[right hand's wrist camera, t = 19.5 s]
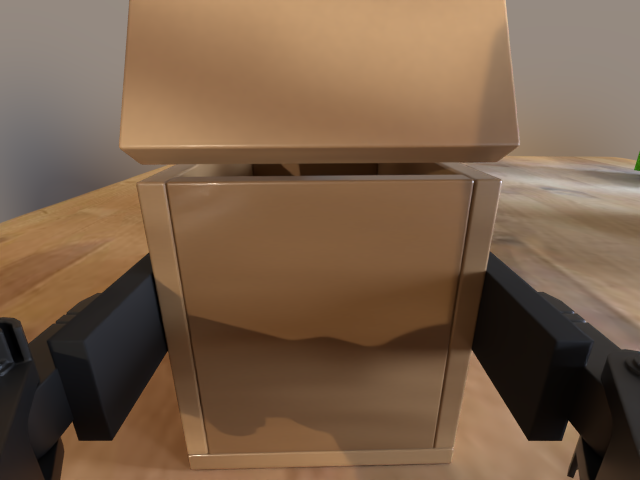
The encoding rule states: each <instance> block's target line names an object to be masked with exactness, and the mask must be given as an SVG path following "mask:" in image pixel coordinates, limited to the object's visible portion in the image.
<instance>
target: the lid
mask: <svg viewBox="0 0 640 480" xmlns="http://www.w3.org/2000/svg"><path fill="white" fill-rule="evenodd" d="M519 145H520V138H519V129H518V119H517V109H516V99H515V89H514V80H513V70H512V60H511V50H510V41H509V31H508V21H507V11H506V2H505V0H129V14H128V27H127V41H126V55H125V69H124V83H123V97H122V111H121V125H120V139H119V147H120V149H121V150H122V151H124V152H125V153H126V154H128V155H129V156H130V157H132V158H133V159H134V160H136V161H137V162H138V163H140V164H142V165H155V164H300V163H444V162H498V161H499V160H501V159H502V158H503V157H505V156H506V155H508V154H509V153H510V152H512V151H513V150H514V149H516V148H517V147H519Z"/></svg>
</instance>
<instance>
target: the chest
mask: <svg viewBox="0 0 640 480" xmlns="http://www.w3.org/2000/svg"><path fill="white" fill-rule="evenodd" d="M501 187H502V180H501V179H499V178H496V177H494V176H491V175H489V174H486V173H484V172H481V171H479V170H476V169H474V168H471V167H469V166H466V165H464V164H461V163H459V162H444V163H300V164H176V165H174V166H172V167H170V168H168V169H166V170H163V171H161V172H159V173H157V174H155V175H153V176H150V177H148V178H146V179H144V180H142V181H139V182H137V191H138V196H139V201H140V206H141V212H142V217H143V222H144V227H145V233H146V238H147V243H148V248H149V254H150V259H151V264H152V269H153V275H154V280H155V285H156V290H157V296H158V301H159V306H160V311H161V316H162V322H163V327H164V332H165V337H166V343H167V348H168V353H169V358H170V364H171V369H172V374H173V379H174V385H175V390H176V395H177V400H178V406H179V411H180V416H181V421H182V427H183V432H184V437H185V442H186V447H187V453H188V459H189V464H190V469H191V470H201V469H241V468H280V467H320V466H359V465H399V464H438V463H451V462H452V456H453V451H454V448H453V447H454V444H455V438H456V433H457V427H458V422H459V416H460V411H461V405H462V400H463V394H464V389H465V383H466V378H467V373H468V367H469V362H470V356H471V351H472V344H473V339H474V333H475V328H476V323H477V317H478V312H479V306H480V301H481V296H482V290H483V285H484V279H485V274H486V269H487V263H488V258H489V252H490V247H491V241H492V236H493V230H494V225H495V219H496V214H497V208H498V203H499V198H500V192H501Z"/></svg>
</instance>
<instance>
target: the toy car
mask: <svg viewBox="0 0 640 480" xmlns="http://www.w3.org/2000/svg"><path fill="white" fill-rule="evenodd" d="M634 170H637V171H640V153H639V156H638V159H637V162H636V165H635V169H634Z"/></svg>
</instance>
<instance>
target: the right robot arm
mask: <svg viewBox="0 0 640 480" xmlns="http://www.w3.org/2000/svg"><path fill="white" fill-rule="evenodd" d="M167 351H168V348H167V343H166V337H165V332H164V327H163V322H162V316H161V311H160V306H159V301H158V296H157V290H156V285H155V280H154V275H153V269H152V264H151V259H150V254H149V253H148V254H147V255H146V256H144V257H143V258H142V259H141V260H140V261H139V262H137V263H136V264H135V265H134V266H133V267H132V268H131V269H129V270H128V271H127V272H126V273H125V274H124V275H122V276H121V277H120V278H119V279H118V280H117V281H115V282H114V283H113V284H112V285H111V286H110V287H108V288H107V289H106V290H105V291H104V292H103V293H97V294H95V295H93V296H91V297H89V298H87V299H85V300H83V301H81V302H79V303H78V304H77V305H75V306H74V307H73V308H72V309H71V310H69V311H68V312H67V314H66V315H63V316H62V317H61V318H60V319H58V320H57V321H56V324H52V325H51V326H50V327H49V328H47V329H46V330H45V331H44V332H42V333H41V334H40V335H39V336H38V337H36V338H35V339H34V340H33V341H31V342H30V343H29V344H28V342H27V339H26V336H25V333H24V331H23V328H22V325H21V322H20V321H19V320H17V319H15V318H5V317H2V318H0V480H60V477H61V470H62V464H63V457H64V447H63V443H62V440H61V435H62V434H63V433H64V432H65V430H66V429H67V428H68V426H69V425H70V424H71V423H72V421H73V424H74V428H75V431H76V434H77V437H78V440H79V441H112V440H113V438H114V437H115V435H116V433H117V432H118V430H119V429H120V427H121V425H122V424H123V422H124V420H125V419H126V417H127V416H128V414H129V412H130V411H131V409H132V408H133V406H134V404H135V403H136V401H137V399H138V398H139V396H140V395H141V393H142V391H143V390H144V388H145V387H146V385H147V383H148V382H149V380H150V379H151V377H152V375H153V374H154V372H155V370H156V369H157V367H158V366H159V364H160V362H161V361H162V359H163V358H164V356H165V354H166V353H167ZM472 351H473V352H474V354H475V355H476V357H477V359H478V360H479V362H480V363H481V365H482V367H483V368H484V370H485V371H486V373H487V375H488V376H489V378H490V380H491V381H492V383H493V384H494V386H495V388H496V389H497V391H498V392H499V394H500V396H501V397H502V399H503V400H504V402H505V404H506V405H507V407H508V409H509V410H510V412H511V413H512V415H513V417H514V418H515V420H516V421H517V423H518V425H519V426H520V428H521V429H522V431H523V433H524V434H525V436H526V438H527V439H528V441H562V438H563V435H564V432H565V429H566V426H567V423H568V420H569V421H570V423H571V424H572V425H573V426H574V428H575V429H576V430H577V431H578V433H579V434H580V437H579V440H578V443H577V446H576V449H575V451H574V454H573V457H572V460H571V463H570V466H569V469H568V475H567V476H569V477H571V478H573V477H574V475H575V472H576V470H578V469H579V476H580V480H640V352H639V351H633V350H626V349H624V350H621V349H620V348H619V347H617V346H616V345H615V344H614V343H613V342H611V341H610V340H609V339H608V338H606V337H605V336H604V335H603V334H601V333H600V332H599V331H598V330H596V329H595V328H594V327H593V326H592V325H590V324H589V323H585V320H584V319H583V318H582V317H580V316H579V315H578V314H575V313H574V311H573V310H572V309H571V308H569V307H568V306H567V305H566V304H564V303H563V302H562V301H560V300H558V299H556V298H554V297H552V296H550V295H548V294H546V293H544V292H537V291H536V290H534V289H533V288H532V287H531V286H530V285H529V284H527V283H526V282H525V281H524V280H523V279H522V278H520V277H519V276H518V275H517V274H516V273H515V272H513V271H512V270H511V269H510V268H509V267H508V266H506V265H505V264H504V263H503V262H502V261H501V260H499V259H498V258H497V257H496V256H495V255H494V254H492V253H491V252H489V258H488V263H487V269H486V274H485V279H484V285H483V290H482V296H481V301H480V306H479V312H478V317H477V323H476V328H475V333H474V339H473V344H472Z"/></svg>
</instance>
